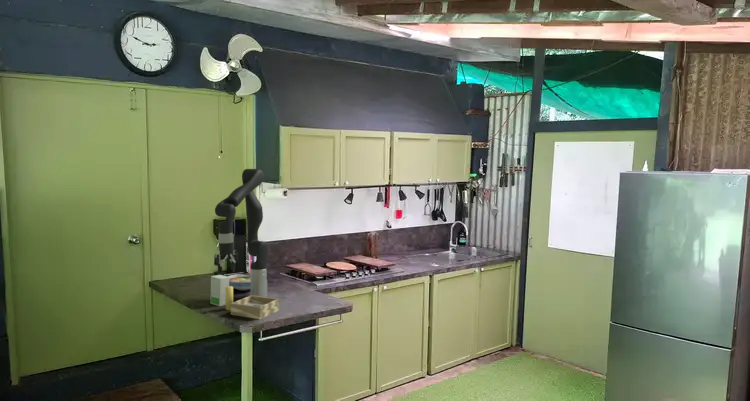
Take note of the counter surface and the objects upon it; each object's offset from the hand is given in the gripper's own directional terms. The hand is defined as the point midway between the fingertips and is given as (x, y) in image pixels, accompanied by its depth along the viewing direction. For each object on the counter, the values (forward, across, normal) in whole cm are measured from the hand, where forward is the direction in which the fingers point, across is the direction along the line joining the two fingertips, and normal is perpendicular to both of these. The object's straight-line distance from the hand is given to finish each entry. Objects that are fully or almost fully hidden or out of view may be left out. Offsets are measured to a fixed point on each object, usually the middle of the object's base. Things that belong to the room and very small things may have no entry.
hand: (226, 271), depth 275 cm
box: (+21, -6, +14) cm, 26 cm away
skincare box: (+21, -6, -13) cm, 26 cm away
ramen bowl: (+22, -37, -27) cm, 51 cm away
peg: (+21, -2, -1) cm, 21 cm away
